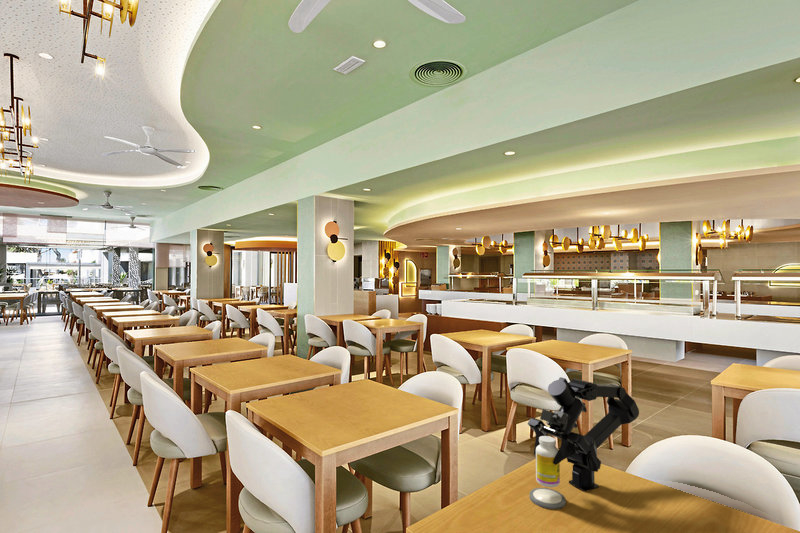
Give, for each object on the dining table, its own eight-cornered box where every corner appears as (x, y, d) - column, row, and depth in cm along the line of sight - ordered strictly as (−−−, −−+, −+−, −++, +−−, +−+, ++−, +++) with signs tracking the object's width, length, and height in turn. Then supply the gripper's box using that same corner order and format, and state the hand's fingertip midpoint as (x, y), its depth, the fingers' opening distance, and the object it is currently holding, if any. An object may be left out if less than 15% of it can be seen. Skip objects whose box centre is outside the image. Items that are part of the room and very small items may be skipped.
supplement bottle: (561, 489, 118) (561, 444, 119) (537, 487, 120) (536, 442, 120) (557, 478, 125) (557, 435, 125) (534, 476, 126) (534, 433, 127)
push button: (546, 488, 129) (546, 484, 129) (573, 503, 120) (573, 499, 120) (522, 495, 124) (522, 492, 124) (548, 512, 115) (548, 508, 115)
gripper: (531, 392, 133) (506, 433, 127) (583, 407, 117) (557, 456, 111) (548, 412, 137) (525, 453, 131) (600, 430, 121) (576, 478, 115)
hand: (544, 459), depth 122 cm, fingers closed on supplement bottle, 7 cm apart
